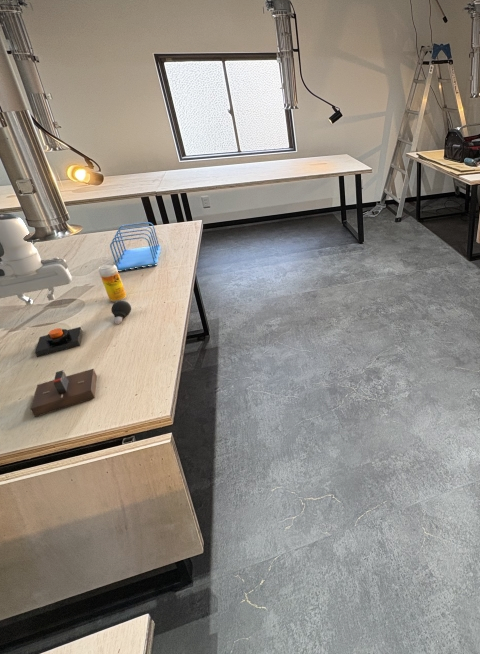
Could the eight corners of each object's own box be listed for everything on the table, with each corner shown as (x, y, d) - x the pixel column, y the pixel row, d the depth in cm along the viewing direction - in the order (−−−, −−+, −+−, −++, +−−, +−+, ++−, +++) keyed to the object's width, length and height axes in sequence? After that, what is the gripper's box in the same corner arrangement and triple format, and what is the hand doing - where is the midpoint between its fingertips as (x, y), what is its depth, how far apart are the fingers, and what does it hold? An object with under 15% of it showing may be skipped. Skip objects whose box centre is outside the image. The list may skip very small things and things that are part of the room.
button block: (37, 357, 136) (32, 347, 134) (42, 342, 144) (37, 332, 142) (80, 346, 141) (76, 336, 139) (82, 331, 149) (78, 322, 147)
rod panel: (34, 417, 112) (29, 408, 111) (41, 392, 121) (36, 384, 119) (94, 398, 118) (90, 389, 117) (96, 376, 127) (93, 368, 125)
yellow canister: (119, 303, 167) (107, 270, 160) (106, 302, 168) (94, 269, 161) (130, 295, 172) (118, 263, 166) (117, 294, 173) (105, 262, 167)
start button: (49, 339, 139) (47, 335, 138) (51, 334, 142) (49, 330, 141) (62, 336, 140) (60, 332, 139) (64, 331, 143) (62, 327, 142)
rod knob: (61, 382, 120) (55, 371, 118) (68, 380, 121) (63, 369, 119) (58, 394, 116) (52, 382, 114) (66, 391, 116) (60, 380, 114)
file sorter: (157, 266, 198) (148, 236, 191) (116, 273, 192) (105, 242, 185) (161, 247, 219) (153, 220, 212) (124, 253, 213) (115, 225, 206)
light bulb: (105, 318, 149) (111, 297, 155) (109, 328, 153) (114, 307, 160) (126, 318, 151) (131, 297, 158) (128, 328, 155) (133, 307, 162)
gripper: (64, 253, 136) (79, 289, 142) (-15, 267, 127) (4, 305, 133) (62, 259, 131) (78, 297, 137) (-21, 275, 122) (0, 314, 128)
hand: (41, 301), depth 135 cm, fingers open, 4 cm apart
